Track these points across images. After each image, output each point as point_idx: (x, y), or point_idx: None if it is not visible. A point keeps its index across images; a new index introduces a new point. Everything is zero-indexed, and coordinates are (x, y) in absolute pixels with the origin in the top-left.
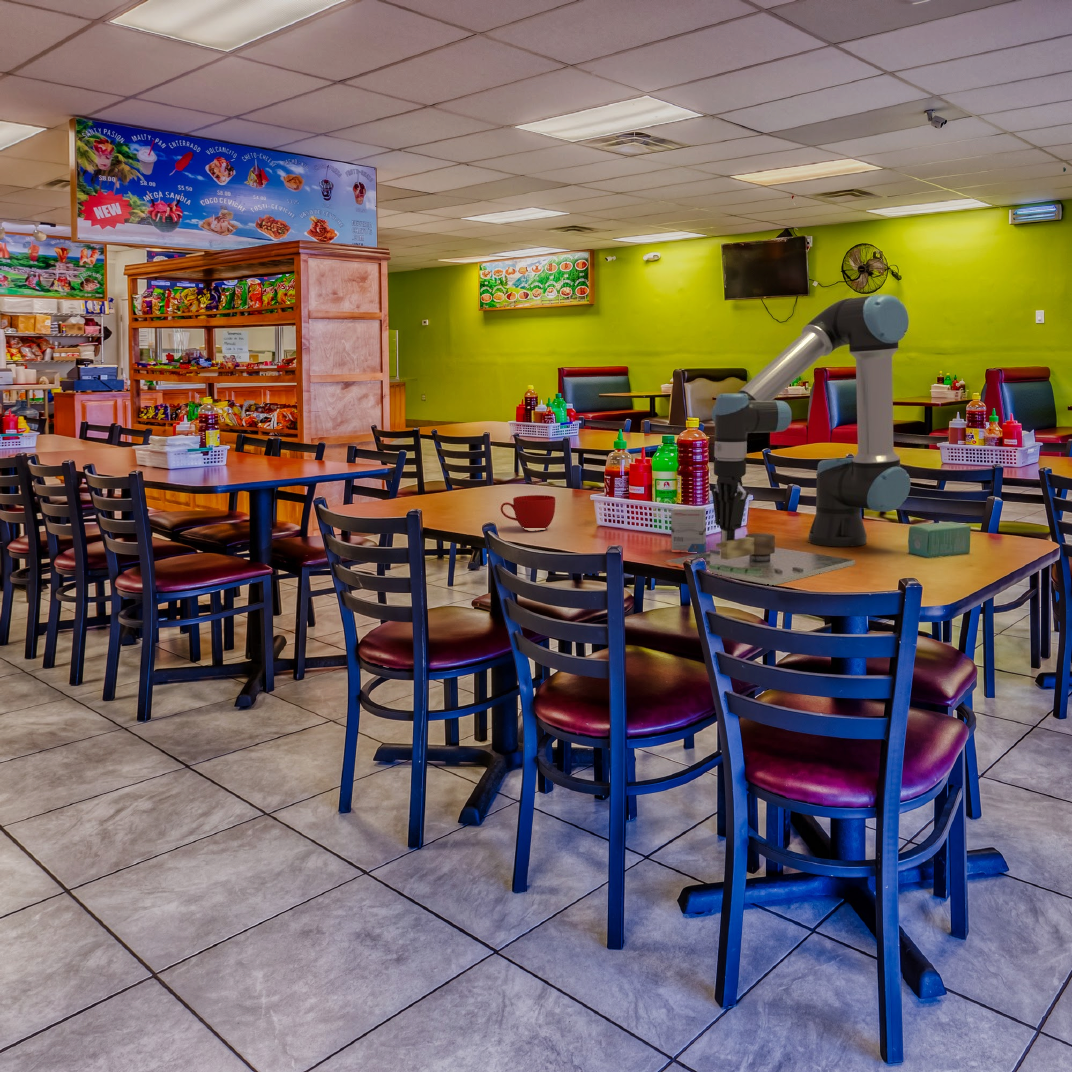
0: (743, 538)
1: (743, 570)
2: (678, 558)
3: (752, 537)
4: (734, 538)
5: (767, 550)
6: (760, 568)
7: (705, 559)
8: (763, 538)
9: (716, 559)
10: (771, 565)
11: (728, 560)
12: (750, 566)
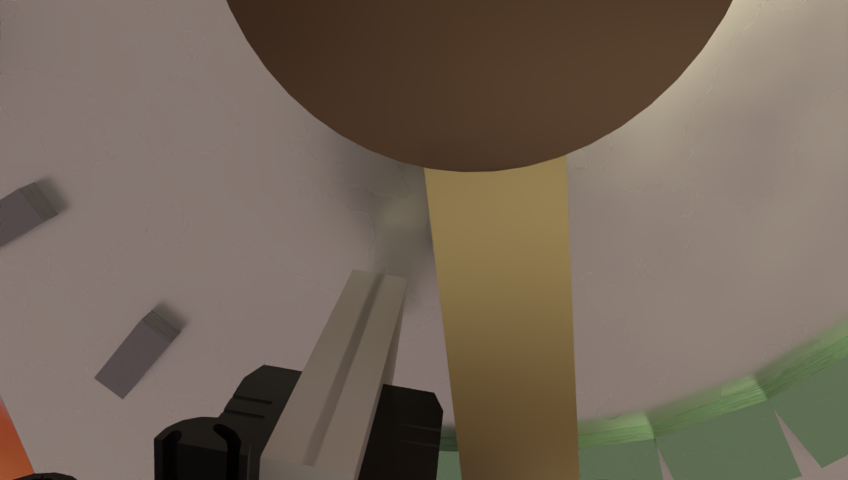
0: (488, 317)
1: (784, 477)
2: (32, 443)
3: (513, 149)
4: (439, 436)
5: None
6: (780, 244)
7: (174, 337)
8: (700, 49)
9: (210, 259)
10: (775, 50)
11: (306, 211)
12: (645, 248)
